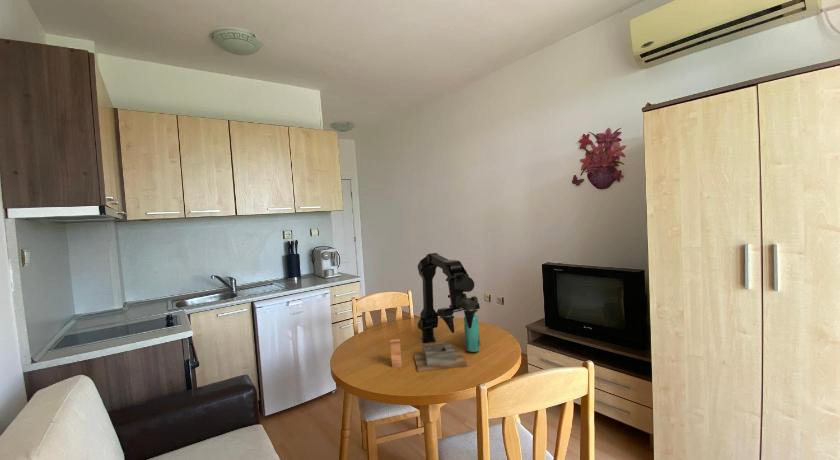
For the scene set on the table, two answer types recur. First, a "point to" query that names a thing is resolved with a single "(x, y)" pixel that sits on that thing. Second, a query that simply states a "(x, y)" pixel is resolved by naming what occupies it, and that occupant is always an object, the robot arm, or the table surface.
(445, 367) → the socket board
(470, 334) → the beverage bottle
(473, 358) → the table surface
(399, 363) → the peg
